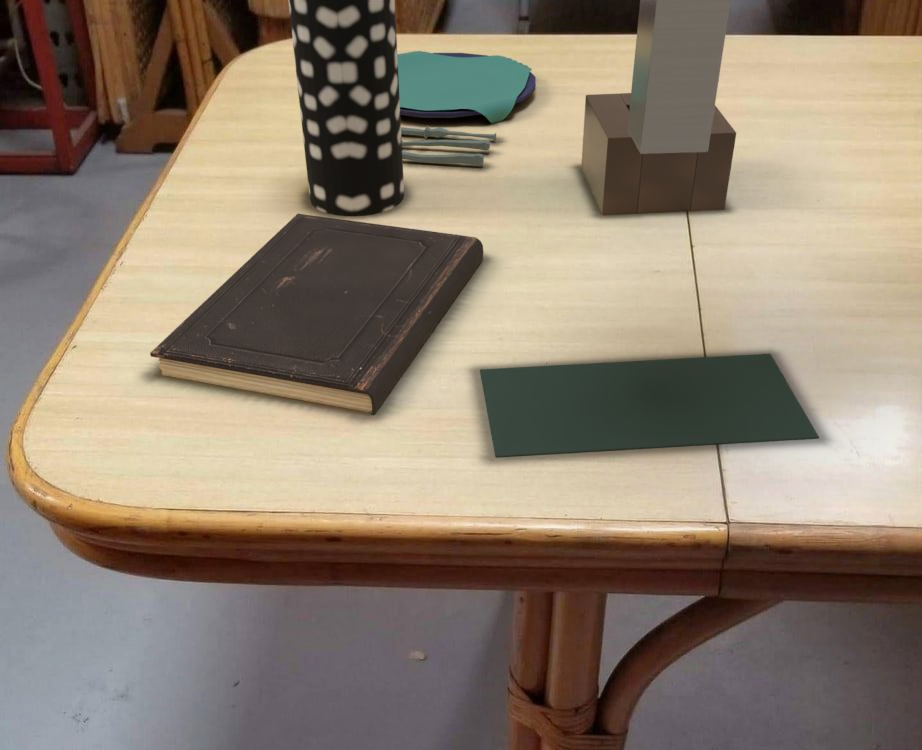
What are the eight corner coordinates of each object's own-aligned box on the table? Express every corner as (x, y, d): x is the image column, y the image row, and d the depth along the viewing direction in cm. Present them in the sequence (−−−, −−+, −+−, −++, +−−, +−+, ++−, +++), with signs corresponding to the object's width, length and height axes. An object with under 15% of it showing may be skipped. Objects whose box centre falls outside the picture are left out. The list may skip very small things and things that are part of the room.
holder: (693, 167, 100) (703, 89, 95) (723, 215, 92) (736, 132, 87) (580, 172, 99) (585, 94, 94) (601, 220, 91) (608, 138, 86)
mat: (768, 360, 74) (770, 353, 73) (817, 444, 66) (819, 436, 66) (479, 376, 73) (479, 369, 72) (495, 464, 65) (495, 455, 65)
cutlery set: (548, 75, 120) (549, 53, 119) (502, 178, 98) (502, 153, 97) (377, 65, 124) (376, 44, 122) (295, 163, 101) (292, 139, 100)
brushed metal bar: (691, 128, 62) (731, -159, 53) (708, 152, 59) (753, -147, 50) (627, 130, 62) (655, -158, 53) (640, 154, 59) (673, -146, 50)
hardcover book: (156, 381, 72) (149, 352, 71) (300, 239, 89) (297, 212, 87) (375, 421, 69) (373, 391, 67) (483, 265, 85) (483, 238, 83)
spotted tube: (291, 202, 95) (260, -52, 82) (362, 175, 99) (343, -69, 86) (352, 230, 90) (330, -34, 77) (423, 200, 95) (414, -54, 82)
